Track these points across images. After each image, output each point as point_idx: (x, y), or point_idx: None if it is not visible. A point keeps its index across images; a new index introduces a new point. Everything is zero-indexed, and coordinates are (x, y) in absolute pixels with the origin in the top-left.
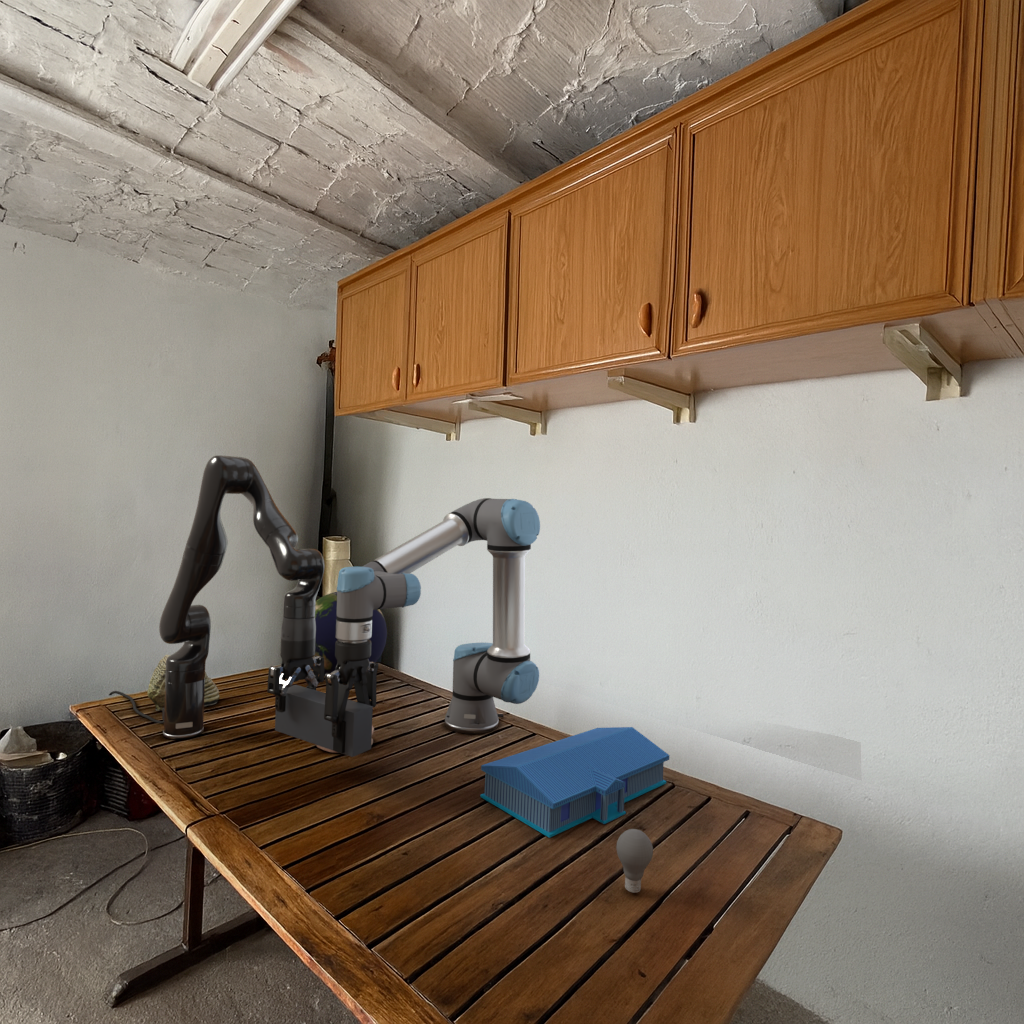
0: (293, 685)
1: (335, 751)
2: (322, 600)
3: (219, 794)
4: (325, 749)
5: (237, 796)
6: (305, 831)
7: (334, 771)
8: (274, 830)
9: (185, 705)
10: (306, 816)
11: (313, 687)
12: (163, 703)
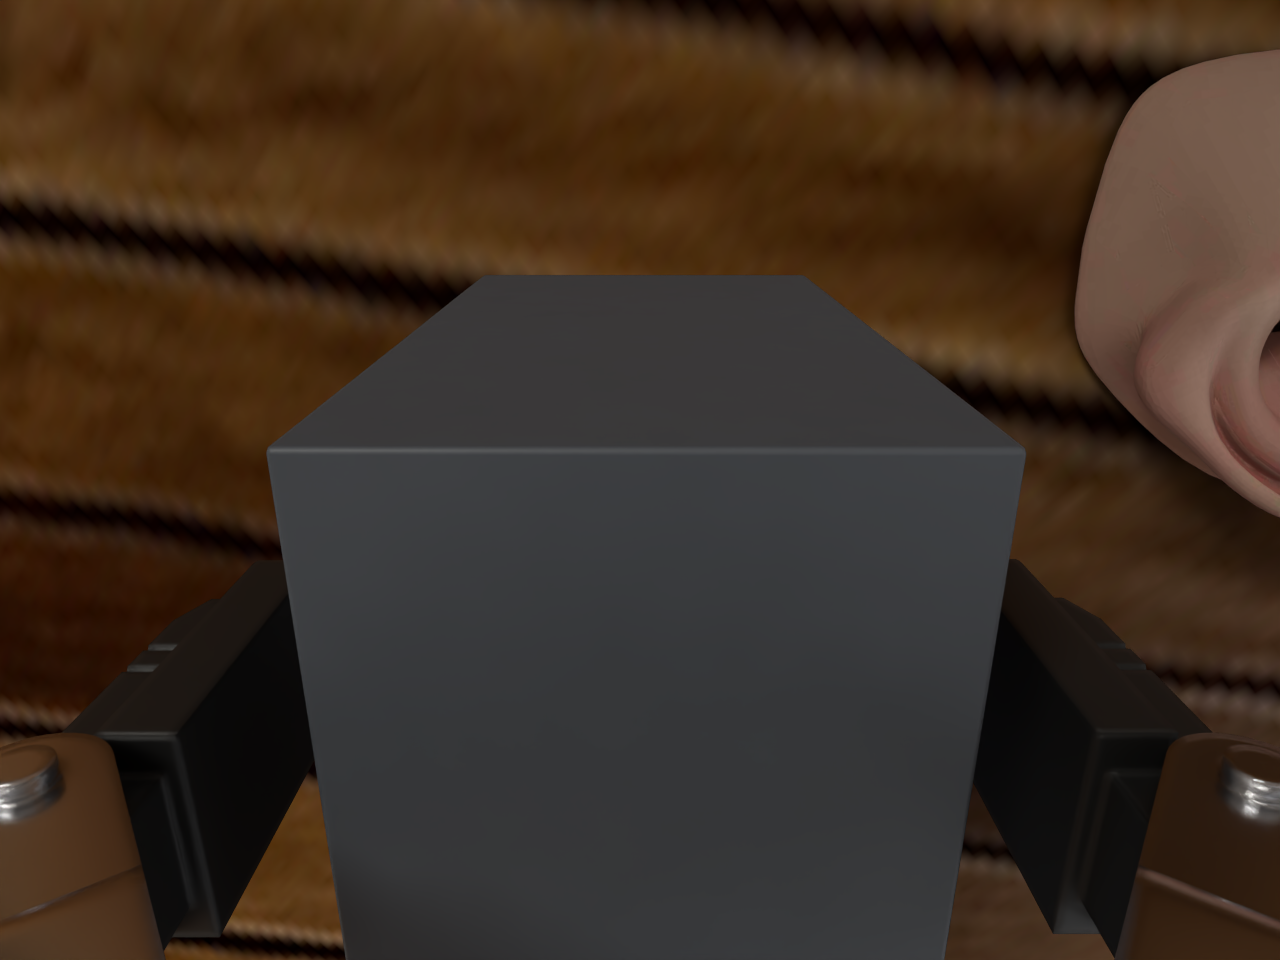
0: (912, 471)
1: (1095, 362)
2: None
3: (36, 247)
4: (1087, 263)
5: (125, 379)
6: (218, 954)
7: None
8: None
9: None
10: (306, 865)
11: (1088, 922)
12: None
